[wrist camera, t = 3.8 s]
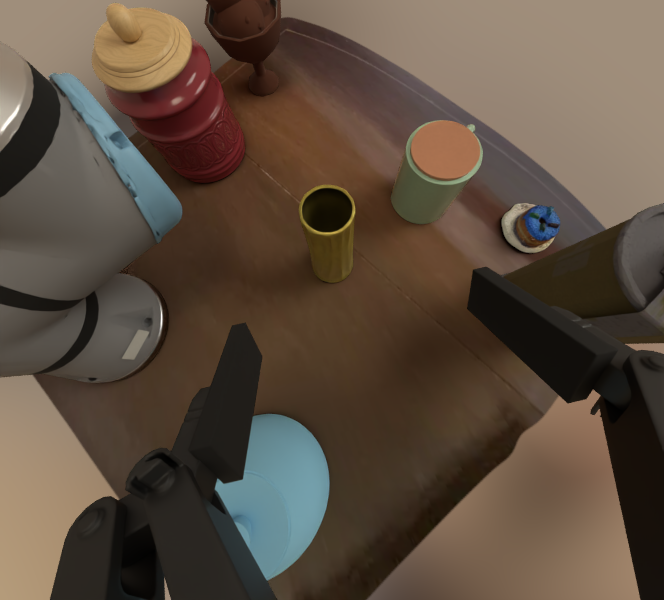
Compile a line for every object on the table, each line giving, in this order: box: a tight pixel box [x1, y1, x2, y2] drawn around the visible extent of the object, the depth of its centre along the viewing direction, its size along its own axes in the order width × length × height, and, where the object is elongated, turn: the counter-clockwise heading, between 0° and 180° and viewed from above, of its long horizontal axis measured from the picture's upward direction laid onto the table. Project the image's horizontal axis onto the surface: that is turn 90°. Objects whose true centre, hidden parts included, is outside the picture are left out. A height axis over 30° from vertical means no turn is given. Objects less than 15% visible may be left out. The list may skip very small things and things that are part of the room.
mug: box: [391, 120, 483, 224], centre depth 33 cm, size 9×12×9 cm
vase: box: [299, 185, 356, 283], centre depth 29 cm, size 6×6×14 cm
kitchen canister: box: [92, 3, 245, 183], centre depth 32 cm, size 13×13×18 cm
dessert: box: [502, 203, 560, 253], centre depth 35 cm, size 8×7×6 cm
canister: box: [501, 203, 664, 344], centre depth 24 cm, size 11×10×20 cm
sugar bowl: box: [215, 414, 330, 580], centre depth 25 cm, size 15×15×12 cm
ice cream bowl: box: [205, 0, 281, 96], centre depth 36 cm, size 11×11×15 cm
